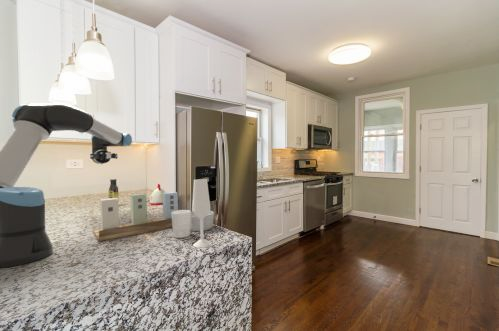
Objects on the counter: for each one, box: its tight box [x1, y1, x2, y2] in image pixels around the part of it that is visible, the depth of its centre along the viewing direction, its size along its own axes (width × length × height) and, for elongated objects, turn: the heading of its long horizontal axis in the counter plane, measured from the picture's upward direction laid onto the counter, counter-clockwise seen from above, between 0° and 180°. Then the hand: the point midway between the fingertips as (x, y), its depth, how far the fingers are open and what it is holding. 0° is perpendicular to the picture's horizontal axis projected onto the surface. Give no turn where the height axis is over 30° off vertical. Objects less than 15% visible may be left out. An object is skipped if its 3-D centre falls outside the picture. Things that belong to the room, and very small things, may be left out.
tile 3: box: [162, 191, 179, 220], centre depth 117 cm, size 4×6×14 cm
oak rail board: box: [92, 217, 173, 242], centre depth 112 cm, size 16×36×4 cm, turn 129°
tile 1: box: [100, 197, 120, 230], centre depth 101 cm, size 4×6×14 cm
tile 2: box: [130, 193, 148, 225], centre depth 114 cm, size 4×6×14 cm
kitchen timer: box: [148, 183, 167, 206], centre depth 180 cm, size 14×14×15 cm
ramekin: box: [190, 210, 215, 232], centre depth 111 cm, size 13×13×7 cm
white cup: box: [171, 209, 192, 239], centre depth 100 cm, size 8×8×10 cm
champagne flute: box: [191, 178, 212, 248], centre depth 88 cm, size 7×7×24 cm
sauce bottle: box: [108, 178, 120, 204], centre depth 175 cm, size 7×6×20 cm
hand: (109, 155), depth 116 cm, fingers closed
